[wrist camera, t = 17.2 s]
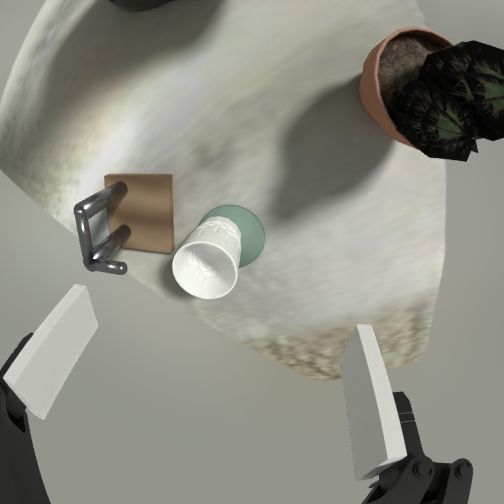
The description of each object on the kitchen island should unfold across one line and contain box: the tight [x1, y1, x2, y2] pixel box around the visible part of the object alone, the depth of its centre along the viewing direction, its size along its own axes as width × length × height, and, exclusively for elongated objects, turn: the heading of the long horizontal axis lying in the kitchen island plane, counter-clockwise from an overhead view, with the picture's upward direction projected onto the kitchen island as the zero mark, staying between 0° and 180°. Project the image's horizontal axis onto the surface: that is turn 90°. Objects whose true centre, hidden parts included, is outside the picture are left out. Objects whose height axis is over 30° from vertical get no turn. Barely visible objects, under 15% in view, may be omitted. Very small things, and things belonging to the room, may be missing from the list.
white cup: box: [172, 216, 241, 299], centre depth 37 cm, size 8×8×10 cm
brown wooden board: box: [104, 174, 175, 253], centre depth 40 cm, size 12×11×2 cm
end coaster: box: [200, 205, 265, 267], centre depth 42 cm, size 10×10×1 cm
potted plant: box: [359, 27, 504, 162], centre depth 19 cm, size 14×14×25 cm
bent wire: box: [74, 181, 131, 275], centre depth 34 cm, size 9×7×11 cm
